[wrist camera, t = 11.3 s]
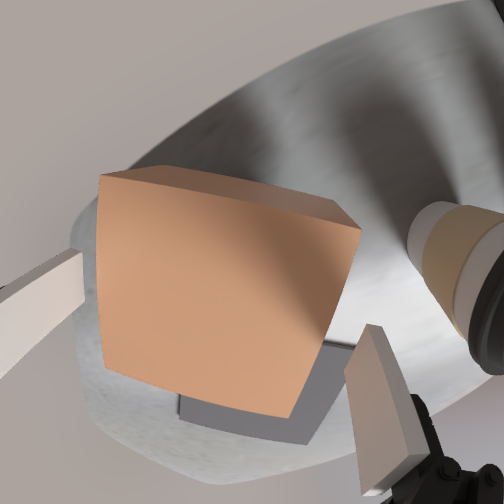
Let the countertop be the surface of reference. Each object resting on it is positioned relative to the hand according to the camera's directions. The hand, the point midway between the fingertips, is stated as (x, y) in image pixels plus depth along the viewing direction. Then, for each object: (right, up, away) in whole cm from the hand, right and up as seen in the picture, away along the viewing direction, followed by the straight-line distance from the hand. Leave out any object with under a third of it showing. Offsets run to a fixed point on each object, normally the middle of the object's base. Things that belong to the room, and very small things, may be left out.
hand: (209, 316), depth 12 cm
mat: (+3, -13, +18) cm, 22 cm away
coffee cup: (+19, +4, +10) cm, 22 cm away
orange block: (0, +2, +7) cm, 7 cm away
